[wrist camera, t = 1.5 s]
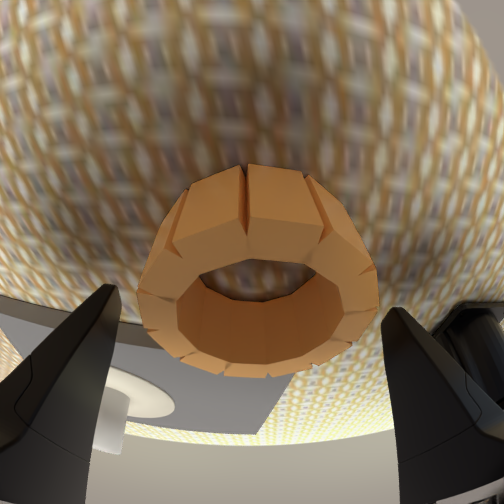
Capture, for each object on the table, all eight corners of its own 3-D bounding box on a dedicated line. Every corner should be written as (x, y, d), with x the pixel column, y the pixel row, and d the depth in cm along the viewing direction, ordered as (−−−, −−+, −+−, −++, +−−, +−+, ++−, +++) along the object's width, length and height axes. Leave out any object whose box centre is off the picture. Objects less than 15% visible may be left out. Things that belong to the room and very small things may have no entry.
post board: (299, 339, 14) (313, 443, 10) (255, 422, 23) (257, 478, 18) (-4, 294, 12) (-41, 366, 8) (67, 393, 21) (54, 443, 16)
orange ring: (377, 186, 9) (419, 240, 6) (318, 321, 13) (329, 377, 11) (158, 155, 8) (124, 205, 6) (165, 309, 12) (153, 368, 10)
